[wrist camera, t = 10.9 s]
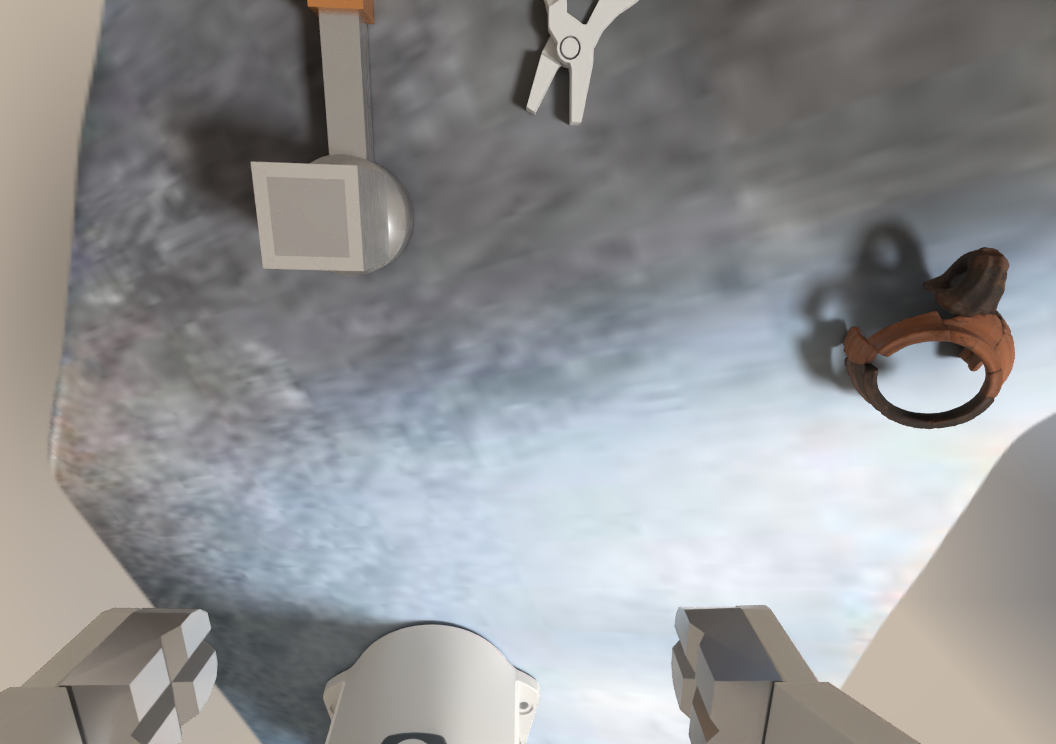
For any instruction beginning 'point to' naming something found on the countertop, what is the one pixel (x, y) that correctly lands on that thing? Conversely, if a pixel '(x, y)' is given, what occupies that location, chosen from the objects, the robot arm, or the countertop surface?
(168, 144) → the countertop surface
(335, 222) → the white open box
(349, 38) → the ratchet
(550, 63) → the pliers
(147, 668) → the robot arm
